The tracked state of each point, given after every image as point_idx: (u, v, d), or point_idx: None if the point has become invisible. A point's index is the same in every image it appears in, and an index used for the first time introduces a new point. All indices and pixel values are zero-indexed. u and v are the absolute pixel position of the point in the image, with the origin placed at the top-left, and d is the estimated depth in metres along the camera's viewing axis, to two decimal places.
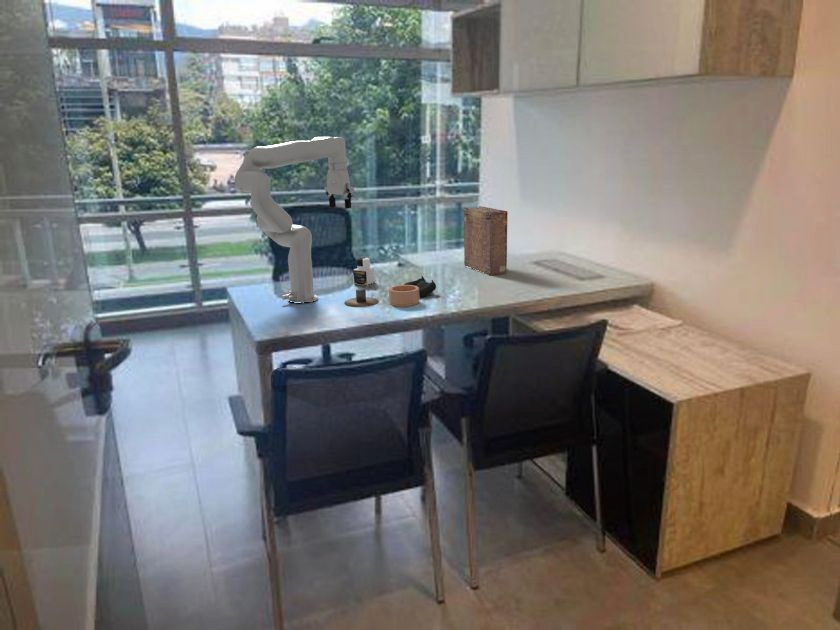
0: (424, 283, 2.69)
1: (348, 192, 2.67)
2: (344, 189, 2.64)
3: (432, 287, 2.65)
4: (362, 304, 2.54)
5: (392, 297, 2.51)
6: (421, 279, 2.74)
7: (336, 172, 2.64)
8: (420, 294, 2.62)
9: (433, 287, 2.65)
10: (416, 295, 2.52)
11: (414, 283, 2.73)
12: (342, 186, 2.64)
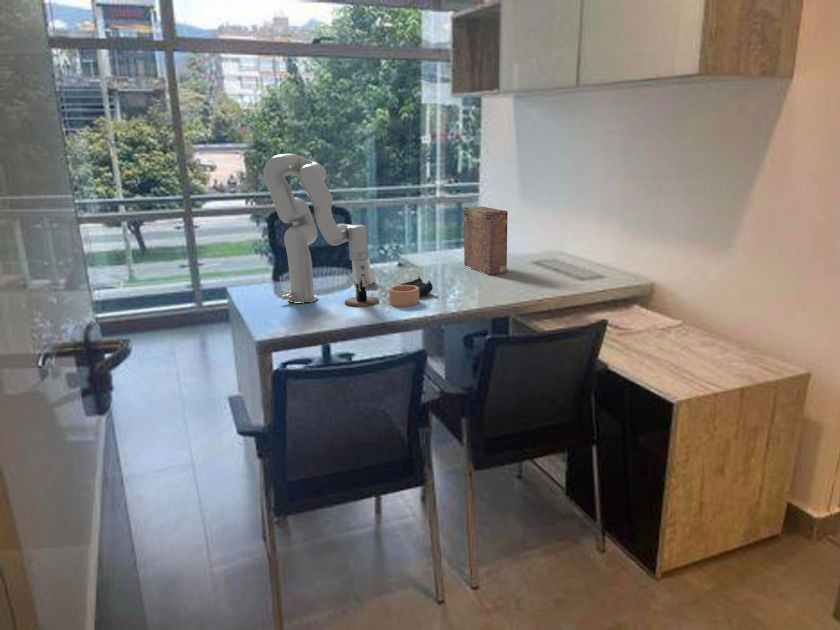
0: (421, 284, 2.68)
1: None
2: None
3: (429, 287, 2.64)
4: (362, 303, 2.54)
5: (392, 297, 2.51)
6: (418, 280, 2.73)
7: None
8: None
9: (430, 288, 2.64)
10: (416, 295, 2.52)
11: (411, 284, 2.73)
12: None
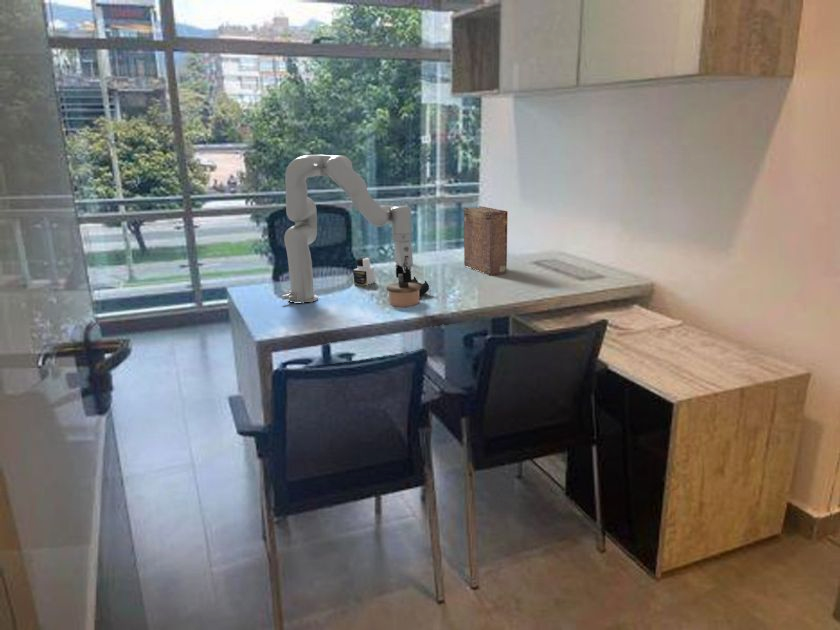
0: None
1: None
2: None
3: (426, 287, 2.64)
4: (405, 289, 2.50)
5: (392, 297, 2.51)
6: (413, 280, 2.73)
7: None
8: None
9: (426, 288, 2.64)
10: (416, 295, 2.52)
11: None
12: None
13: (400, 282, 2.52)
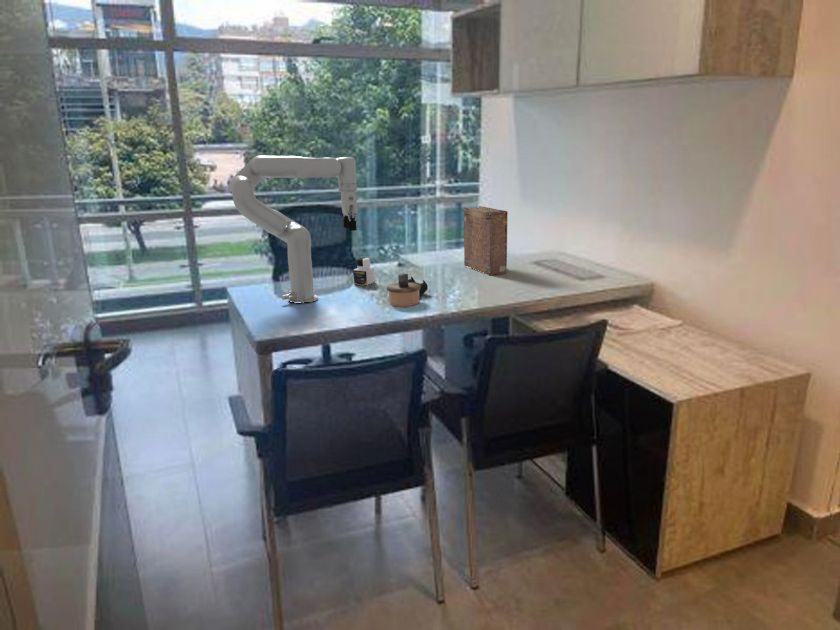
0: None
1: None
2: None
3: (424, 287, 2.65)
4: (405, 289, 2.50)
5: (392, 297, 2.51)
6: (411, 280, 2.73)
7: None
8: None
9: (425, 287, 2.65)
10: (416, 295, 2.52)
11: None
12: None
13: (400, 282, 2.52)
